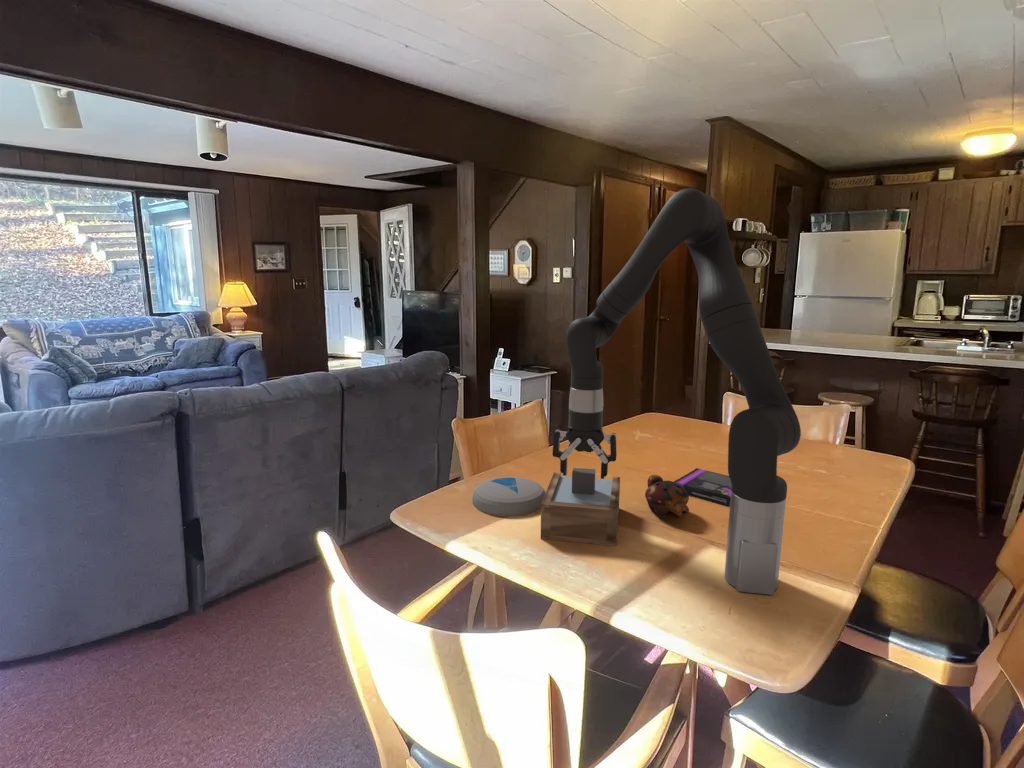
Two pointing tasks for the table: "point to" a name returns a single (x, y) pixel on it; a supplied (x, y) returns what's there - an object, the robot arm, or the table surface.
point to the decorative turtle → (666, 497)
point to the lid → (583, 488)
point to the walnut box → (580, 518)
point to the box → (707, 486)
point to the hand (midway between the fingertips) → (583, 476)
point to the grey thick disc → (508, 496)
